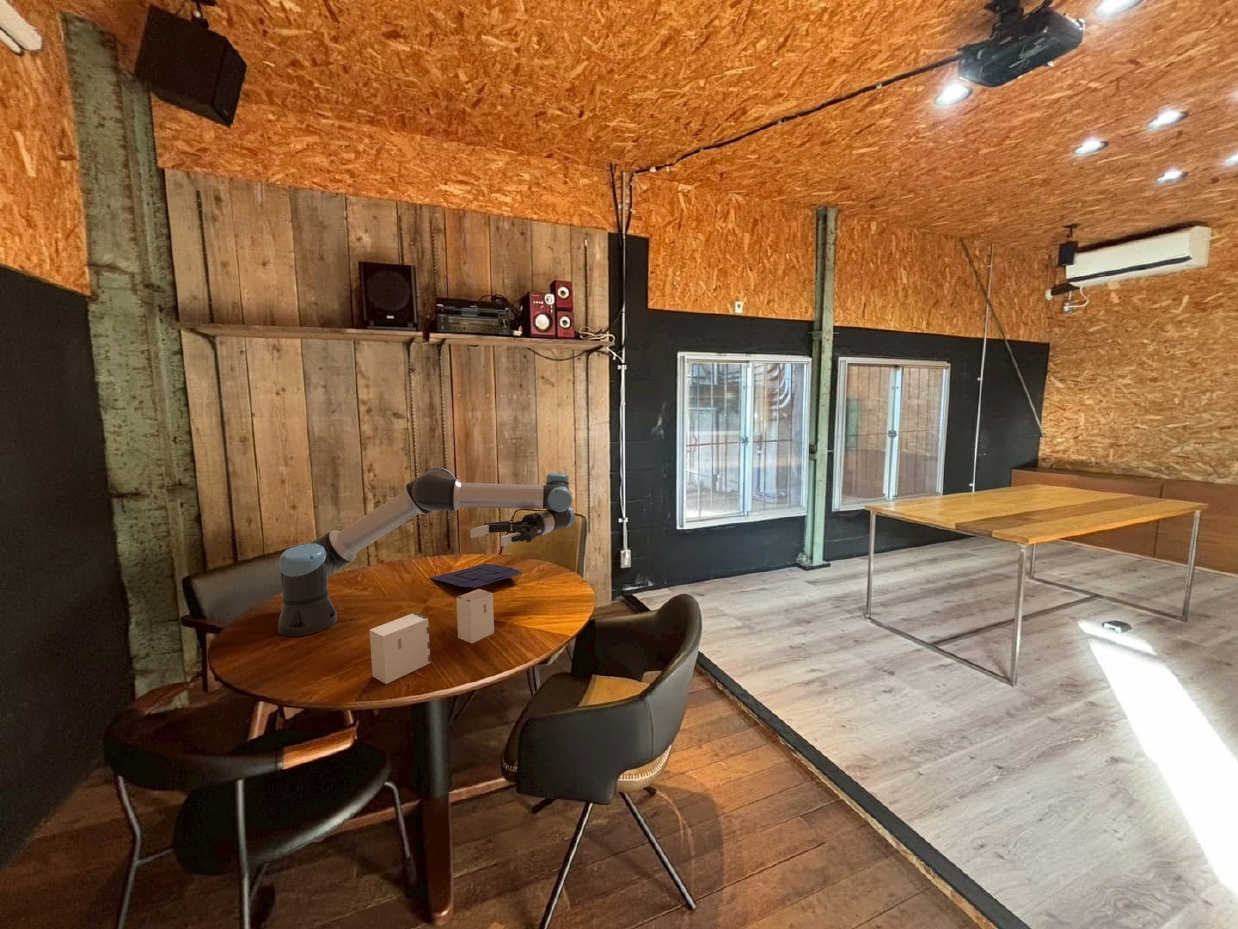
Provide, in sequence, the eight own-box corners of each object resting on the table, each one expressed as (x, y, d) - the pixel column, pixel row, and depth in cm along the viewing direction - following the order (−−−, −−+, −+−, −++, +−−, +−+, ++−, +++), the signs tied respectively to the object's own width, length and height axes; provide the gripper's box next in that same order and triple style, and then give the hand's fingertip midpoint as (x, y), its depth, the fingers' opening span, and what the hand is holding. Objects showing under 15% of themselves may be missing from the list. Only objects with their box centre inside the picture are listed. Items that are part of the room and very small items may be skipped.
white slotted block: (372, 676, 126) (369, 628, 124) (416, 656, 136) (414, 612, 134) (386, 684, 122) (383, 635, 121) (430, 663, 132) (428, 618, 130)
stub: (457, 637, 146) (456, 596, 145) (480, 627, 153) (479, 588, 151) (471, 643, 143) (470, 601, 141) (494, 633, 149) (492, 592, 148)
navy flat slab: (470, 597, 173) (468, 586, 172) (429, 585, 194) (428, 575, 193) (529, 579, 190) (528, 569, 190) (486, 569, 211) (485, 561, 211)
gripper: (565, 542, 162) (515, 558, 145) (510, 529, 176) (459, 542, 159) (566, 518, 161) (515, 532, 144) (510, 507, 175) (458, 518, 158)
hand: (485, 537), depth 151 cm, fingers open, 13 cm apart
